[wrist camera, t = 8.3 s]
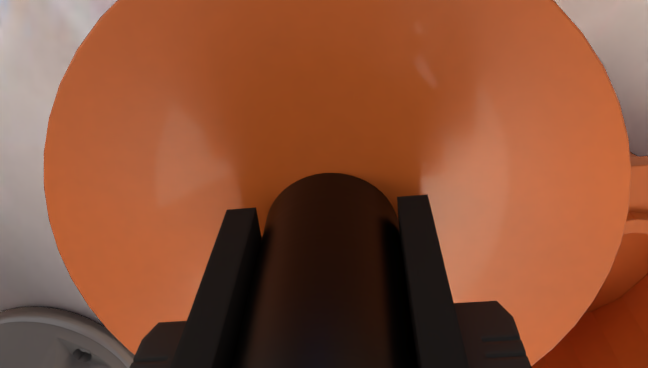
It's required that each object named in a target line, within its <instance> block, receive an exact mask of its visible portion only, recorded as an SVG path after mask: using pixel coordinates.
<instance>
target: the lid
mask: <svg viewBox="0 0 648 368" xmlns="http://www.w3.org/2000/svg"><path fill="white" fill-rule="evenodd" d="M630 186H631V163H630V151H629V139H628V135H627V131H626V127H625V123H624V119H623V115H622V111H621V107H620V103H619V100H618V98H617V96H616V93H615V91H614V89H613V86H612V84H611V82H610V79H609V77H608V75H607V72H606V70H605V68H604V66H603V64H602V63H601V61H600V60H599V58H598V56H597V55H596V53H595V52H594V50H593V49H592V47H591V45H590V44H589V42H588V41H587V39H586V38H585V36H584V34H583V33H582V32H581V31H580V30H579V28H578V27H577V26H576V25H575V24H574V23H573V22H572V21H571V19H570V18H569V17H568V16H567V15H566V14H565V13H564V12H563V10H562V9H561V8H560V7H559V6H558V5H557V4H556V3H555V1H553V0H117V1H116V2H115V3H114V4H113V5H112V6H111V7H110V8H109V9H108V10H107V11H106V12H105V13H104V14H103V15H102V16H101V17H100V19H99V20H98V21H97V23H96V24H95V26H94V27H93V28H92V30H91V31H90V32H89V34H88V35H87V37H86V38H85V39H84V41H83V42H82V44H81V45H80V46H79V48H78V49H77V51H76V53H75V55H74V57H73V59H72V61H71V63H70V65H69V67H68V69H67V71H66V73H65V75H64V77H63V79H62V81H61V83H60V85H59V88H58V91H57V95H56V98H55V101H54V104H53V107H52V110H51V114H50V117H49V122H48V128H47V135H46V142H45V148H44V190H45V197H46V203H47V210H48V216H49V221H50V224H51V228H52V231H53V234H54V238H55V241H56V244H57V247H58V251H59V253H60V255H61V257H62V259H63V261H64V264H65V266H66V268H67V270H68V272H69V274H70V277H71V279H72V280H73V282H74V284H75V285H76V287H77V288H78V290H79V292H80V293H81V295H82V296H83V298H84V300H85V301H86V303H87V304H88V306H89V307H90V308H91V310H92V311H93V312H94V313H95V314H96V316H97V317H98V318H99V319H100V321H101V322H102V323H103V324H104V326H105V327H106V328H107V329H108V330H109V331H110V332H111V333H112V334H113V335H114V336H115V337H116V338H117V339H118V340H119V341H120V342H121V343H122V344H123V345H124V346H125V347H126V348H127V349H128V350H129V351H130V352H132V353H133V354H134V355H135V354H136V352H137V349H138V347H139V345H140V343H141V340H142V339H143V338H144V337H145V336H146V335H147V334H148V333H149V332H150V331H151V330H152V329H153V328H154V327H155V325H156V324H157V323H158V322H174V321H187V319H188V316H189V313H190V310H191V308H192V305H193V302H194V299H195V297H196V294H197V291H198V288H199V285H200V283H201V280H202V277H203V274H204V272H205V269H206V266H207V263H208V260H209V258H210V255H211V252H212V249H213V247H214V244H215V241H216V238H217V235H218V233H219V230H220V227H221V224H222V221H223V219H224V216H225V213H226V210H229V209H242V208H255V207H256V211H257V216H258V221H259V227H260V232H261V237H262V241H261V245H260V249H259V253H258V258H257V262H256V266H255V270H254V275H253V279H252V283H251V287H250V292H249V296H248V300H247V304H246V309H245V313H244V317H243V321H242V325H241V330H240V334H239V338H238V342H237V347H236V351H235V355H234V359H233V364H232V368H418V366H417V359H416V352H415V344H414V337H413V330H412V323H411V315H410V308H409V301H408V293H407V286H406V279H405V272H404V264H403V257H402V250H401V242H400V235H399V222H398V205H397V197H401V196H414V195H427V194H428V198H429V202H430V206H431V211H432V215H433V219H434V223H435V227H436V231H437V236H438V240H439V244H440V248H441V252H442V256H443V261H444V265H445V269H446V273H447V277H448V281H449V286H450V290H451V294H452V298H453V302H454V303H465V302H481V301H498V302H499V303H500V304H501V305H502V306H503V307H504V308H505V309H506V310H507V311H508V312H509V313H510V314H511V315H512V316H513V318H514V321H515V324H516V326H517V329H518V332H519V334H520V339H521V340H522V343H523V345H524V348H525V351H526V356H528V359H529V362H530V365H531V366H532V365H534V364H535V363H536V362H537V361H538V360H540V359H541V358H542V357H543V356H544V355H546V354H547V353H548V352H549V351H551V350H552V349H553V348H554V347H555V346H556V345H557V344H558V343H559V342H560V341H561V340H562V339H563V337H564V336H565V335H566V334H567V333H568V332H569V331H570V330H571V329H572V328H573V327H574V326H575V325H576V323H577V322H578V321H579V319H580V318H581V317H582V315H583V314H584V313H585V311H586V310H587V309H588V307H589V306H590V305H591V303H592V302H593V301H594V299H595V297H596V295H597V294H598V292H599V290H600V288H601V286H602V285H603V283H604V281H605V279H606V278H607V276H608V274H609V272H610V269H611V267H612V264H613V262H614V259H615V257H616V254H617V252H618V249H619V246H620V244H621V241H622V237H623V232H624V228H625V224H626V219H627V215H628V211H629V200H630Z"/></svg>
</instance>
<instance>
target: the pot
mask: <svg viewBox="0 0 648 368" xmlns="http://www.w3.org/2000/svg"><path fill="white" fill-rule="evenodd" d="M630 163H631V186H630V200H629V211H628V215H627V219H626V224H625V228H624V232H623V237H622V241H621V244H620V246H619V249H618V252H617V254H616V257H615V259H614V262H613V264H612V267H611V269H610V272H609V274H608V276H607V278H606V279H605V281H604V283H603V285H602V286H601V288H600V290H599V292H598V294H597V295H596V297H595V299H594V301H593V302H592V303H591V305H590V306H589V307H588V309H587V310H586V311H585V313H584V314H583V315H582V317H581V318H580V319H579V321H578V322H577V323H576V325H575V326H574V327H573V328H572V329H571V330H570V331H569V332H568V333H567V334H566V335H565V336H564V337H563V339H562V340H561V341H560V342H559V343H558V344H557V345H556V346H555V347H554V348H553V349H552V350H551V351H549V352H548V353H547V354H546V355H544V356H543V357H542V358H541V359H540V360H538V361H537V362H536V363H535V364H534V365H532V366H531V367H532V368H648V156H640V157H638V156H636V155H635V154H633V153H631V152H630Z"/></svg>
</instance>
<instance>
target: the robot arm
mask: <svg viewBox="0 0 648 368" xmlns="http://www.w3.org/2000/svg"><path fill="white" fill-rule="evenodd" d="M397 205H398V222H399V235H400V242H401V250H402V257H403V264H404V272H405V279H406V286H407V293H408V301H409V308H410V315H411V323H412V330H413V337H414V344H415V352H416V359H417V366H418V368H532V367H531V365H530V362H529V359H528V356H526V351H525V348H524V345H523V343H522V340H521V339H520V334H519V332H518V329H517V326H516V324H515V321H514V318H513V316H512V315H511V314H510V313H509V312H508V311H507V310H506V309H505V308H504V307H503V306H502V305H501V304H500V303H499V302H498V301H481V302H465V303H454V302H453V298H452V294H451V290H450V286H449V281H448V277H447V273H446V269H445V265H444V261H443V256H442V252H441V248H440V244H439V240H438V236H437V231H436V227H435V223H434V219H433V215H432V211H431V206H430V202H429V198H428V194H427V195H414V196H401V197H397ZM261 241H262V237H261V232H260V227H259V221H258V216H257V211H256V207H255V208H242V209H229V210H226V213H225V216H224V219H223V221H222V224H221V227H220V230H219V233H218V235H217V238H216V241H215V244H214V247H213V249H212V252H211V255H210V258H209V260H208V263H207V266H206V269H205V272H204V274H203V277H202V280H201V283H200V285H199V288H198V291H197V294H196V297H195V299H194V302H193V305H192V308H191V310H190V313H189V316H188V319H187V321H174V322H158V323H157V324H156V325H155V327H154V328H153V329H152V330H151V331H150V332H149V333H148V334H147V335H146V336H145V337H144V338H143V339H142V340H141V343H140V345H139V347H138V349H137V352H136V354H135V355H134V354H133V353H132V352H130V351H129V350H128V349H127V348H126V347H125V346H124V345H123V344H122V343H121V342H120V341H119V340H118V339H117V338H116V337H115V336H114V335H113V334H112V333H111V332H110V331H109V330H108V329H107V328H105V327H104V326H102V325H100V324H98V323H96V322H94V321H92V320H90V319H88V318H86V317H83V316H80V315H78V314H75V313H71V312H68V311H64V310H59V309H54V308H46V307H21V308H14V309H9V310H5V311H2V312H0V368H232V364H233V359H234V355H235V351H236V347H237V342H238V338H239V334H240V330H241V325H242V321H243V317H244V313H245V309H246V304H247V300H248V296H249V292H250V287H251V283H252V279H253V275H254V270H255V266H256V262H257V258H258V253H259V249H260V245H261Z"/></svg>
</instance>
